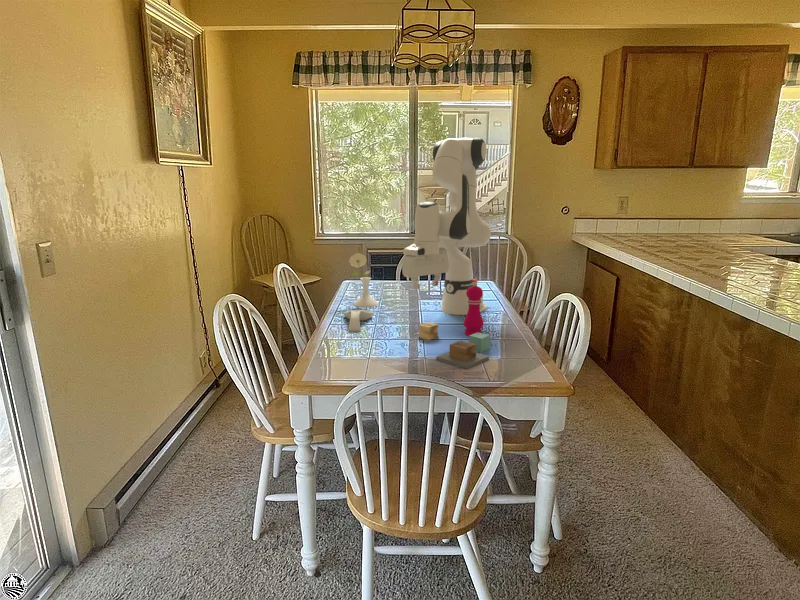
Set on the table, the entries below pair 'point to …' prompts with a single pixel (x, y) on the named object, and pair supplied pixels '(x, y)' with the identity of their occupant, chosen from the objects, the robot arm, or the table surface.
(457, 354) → the base block
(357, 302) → the flower in vase
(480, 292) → the pepper mill
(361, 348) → the table surface
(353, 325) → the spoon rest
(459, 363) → the build board
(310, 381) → the table surface
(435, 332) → the block
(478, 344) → the block
